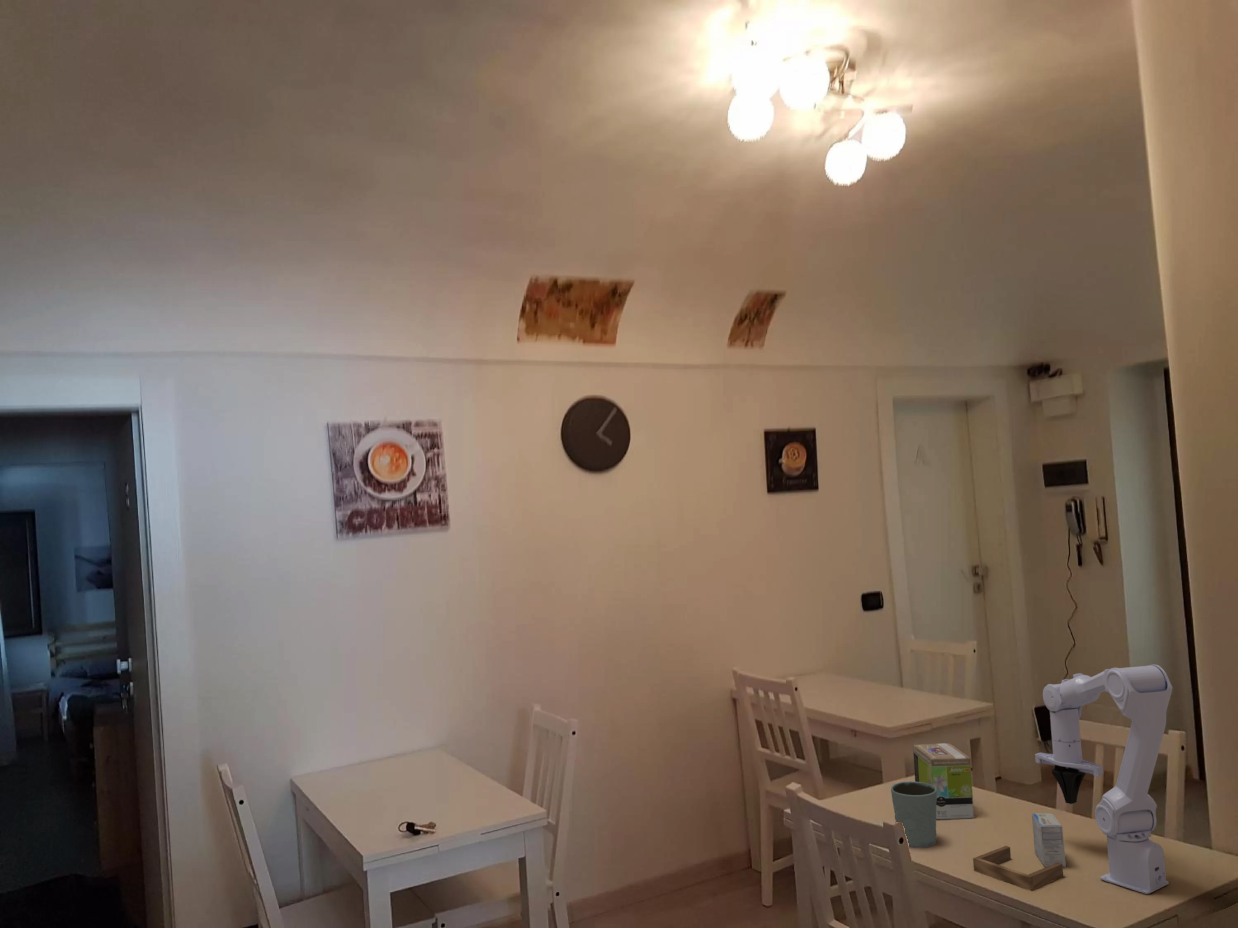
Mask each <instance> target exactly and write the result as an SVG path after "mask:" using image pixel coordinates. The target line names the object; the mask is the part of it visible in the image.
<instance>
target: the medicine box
mask: <svg viewBox="0 0 1238 928" xmlns="http://www.w3.org/2000/svg"><path fill="white" fill-rule="evenodd" d="M1031 820H1032V833H1033V844H1034V853H1035V854H1036V856H1037V858H1038V859H1039V861H1040V862H1041V863H1042V865H1043V867H1044V868H1045V867H1048V866H1050V865H1052V864H1055V863H1057V862H1059V863H1062V864H1063V868H1066V867H1067V863H1066V851H1065V843H1064V832H1063V831H1064V830H1063V825H1062V824H1061V823H1060V821H1059V820H1058V819H1057V818H1056V816H1055V815H1054V814H1053V813H1048V812H1047V813H1044V812H1043V813H1041V812H1040V813H1037V812H1036V813H1032V815H1031Z"/></svg>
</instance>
